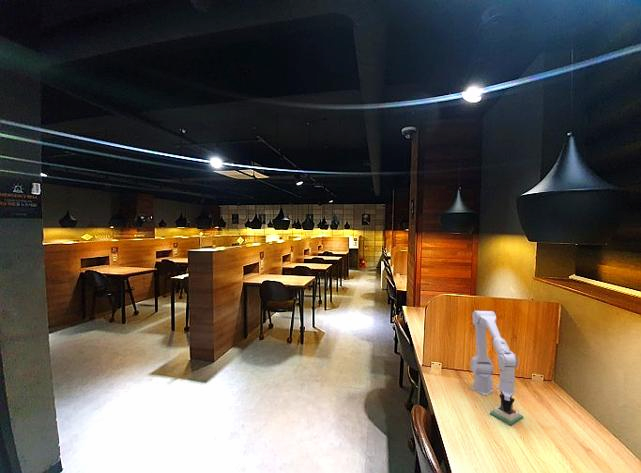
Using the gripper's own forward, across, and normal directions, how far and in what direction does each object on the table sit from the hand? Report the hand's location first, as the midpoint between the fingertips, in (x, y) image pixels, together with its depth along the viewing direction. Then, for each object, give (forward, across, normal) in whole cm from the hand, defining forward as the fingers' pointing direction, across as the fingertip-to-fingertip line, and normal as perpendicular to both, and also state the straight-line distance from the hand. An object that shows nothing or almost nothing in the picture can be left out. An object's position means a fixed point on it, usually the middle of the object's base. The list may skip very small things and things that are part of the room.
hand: (506, 408), depth 128 cm
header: (+4, 0, 0) cm, 4 cm away
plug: (+2, 0, 0) cm, 2 cm away
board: (+4, 0, 0) cm, 4 cm away
